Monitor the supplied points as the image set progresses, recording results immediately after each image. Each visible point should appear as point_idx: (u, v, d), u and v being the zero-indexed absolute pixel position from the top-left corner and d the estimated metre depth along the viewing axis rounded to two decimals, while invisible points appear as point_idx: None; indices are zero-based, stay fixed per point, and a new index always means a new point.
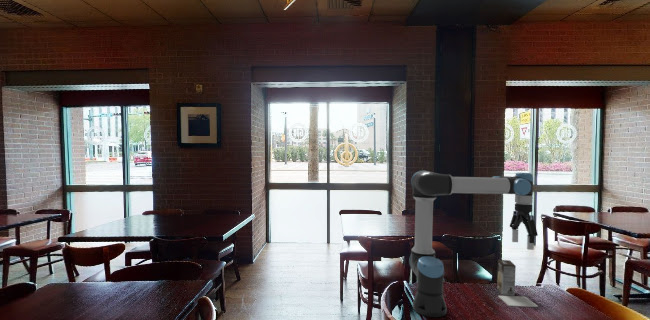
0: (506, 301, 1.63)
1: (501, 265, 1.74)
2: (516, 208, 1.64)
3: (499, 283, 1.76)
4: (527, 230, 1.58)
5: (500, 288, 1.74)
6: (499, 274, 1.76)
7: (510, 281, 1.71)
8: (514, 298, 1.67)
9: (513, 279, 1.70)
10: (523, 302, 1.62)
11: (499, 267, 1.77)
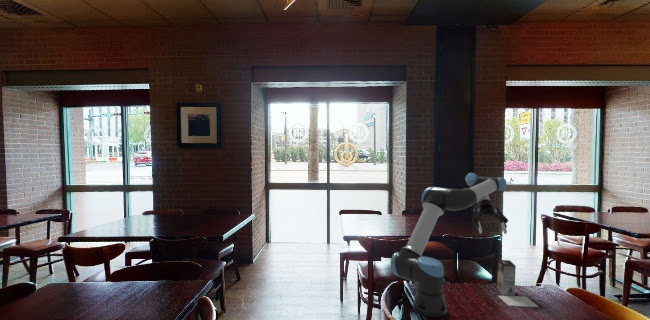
0: (506, 301, 1.63)
1: (501, 265, 1.74)
2: (487, 202, 1.98)
3: (499, 283, 1.76)
4: (500, 218, 1.93)
5: (500, 288, 1.74)
6: (499, 274, 1.76)
7: (510, 281, 1.71)
8: (514, 298, 1.67)
9: (513, 279, 1.70)
10: (523, 302, 1.62)
11: (499, 267, 1.77)
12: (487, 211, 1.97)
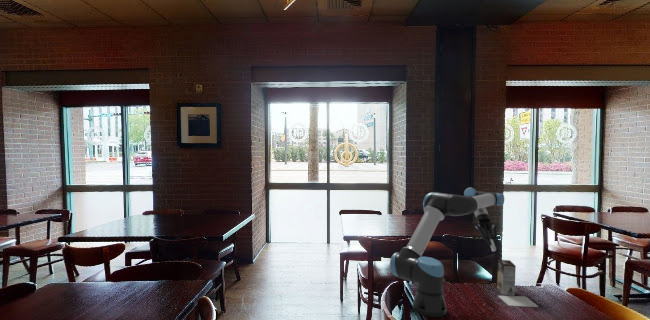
0: (506, 301, 1.63)
1: (501, 265, 1.74)
2: (486, 216, 2.03)
3: (499, 283, 1.76)
4: (491, 234, 1.97)
5: (500, 288, 1.74)
6: (499, 274, 1.76)
7: (510, 281, 1.71)
8: (514, 298, 1.67)
9: (513, 279, 1.70)
10: (523, 302, 1.62)
11: (499, 267, 1.77)
12: (486, 225, 2.01)
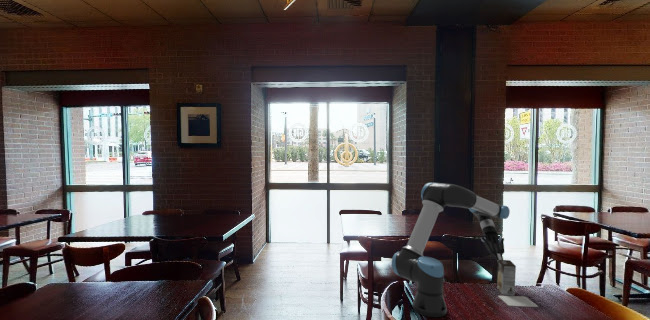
0: (506, 301, 1.63)
1: (501, 265, 1.73)
2: (492, 229, 1.92)
3: (499, 283, 1.76)
4: (498, 248, 1.86)
5: (500, 288, 1.74)
6: (499, 274, 1.76)
7: (510, 281, 1.71)
8: (514, 298, 1.67)
9: (513, 279, 1.70)
10: (523, 302, 1.62)
11: (499, 267, 1.76)
12: (493, 238, 1.91)
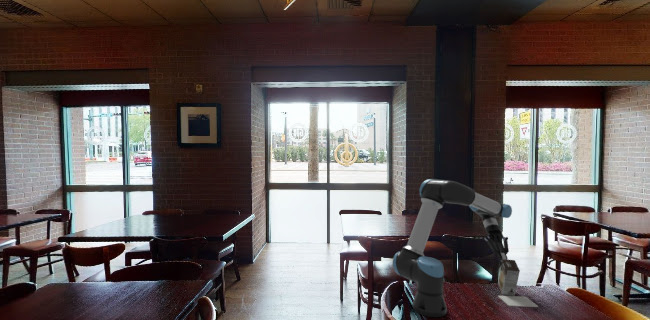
0: (506, 301, 1.63)
1: (505, 268, 1.69)
2: (496, 227, 1.88)
3: (500, 282, 1.75)
4: (502, 248, 1.82)
5: (501, 287, 1.74)
6: (501, 274, 1.73)
7: (511, 283, 1.68)
8: (514, 298, 1.67)
9: (515, 282, 1.68)
10: (523, 302, 1.62)
11: (502, 268, 1.73)
12: (496, 237, 1.86)
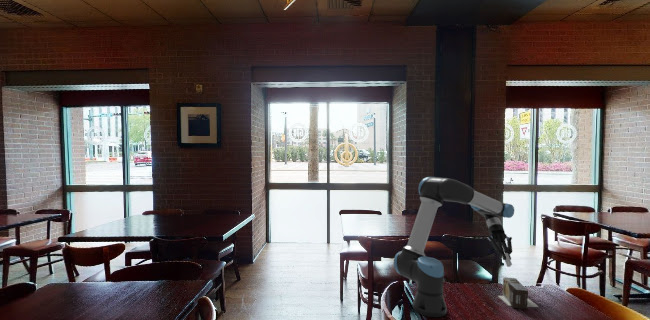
0: (506, 301, 1.63)
1: (512, 301, 1.57)
2: (499, 227, 1.84)
3: (505, 288, 1.67)
4: (506, 248, 1.78)
5: (503, 290, 1.69)
6: (508, 291, 1.63)
7: None
8: None
9: None
10: None
11: (510, 293, 1.59)
12: (500, 237, 1.82)
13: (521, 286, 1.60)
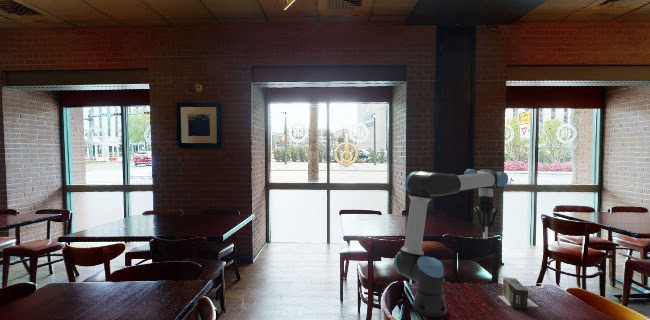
0: (506, 301, 1.63)
1: (512, 301, 1.57)
2: (489, 200, 1.83)
3: (505, 288, 1.67)
4: (488, 221, 1.83)
5: (503, 290, 1.69)
6: (508, 291, 1.63)
7: None
8: None
9: None
10: None
11: (510, 293, 1.59)
12: (486, 209, 1.85)
13: (521, 286, 1.60)
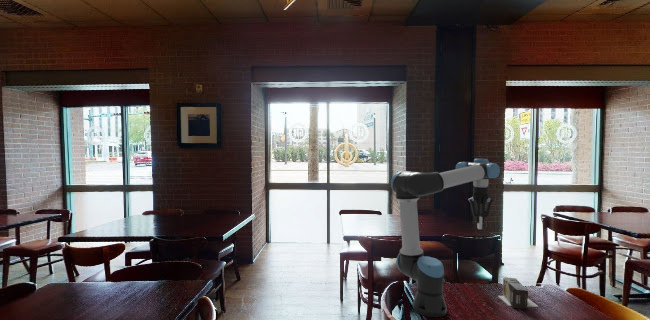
0: (506, 301, 1.63)
1: (512, 301, 1.57)
2: (484, 191, 1.77)
3: (505, 288, 1.67)
4: (483, 212, 1.80)
5: (503, 290, 1.69)
6: (508, 291, 1.63)
7: None
8: None
9: None
10: None
11: (510, 293, 1.59)
12: (481, 200, 1.80)
13: (521, 286, 1.60)
